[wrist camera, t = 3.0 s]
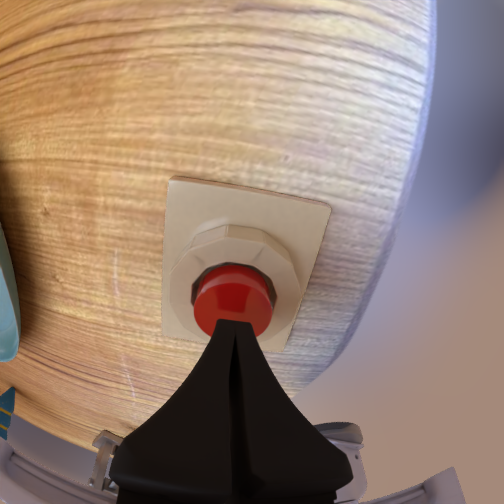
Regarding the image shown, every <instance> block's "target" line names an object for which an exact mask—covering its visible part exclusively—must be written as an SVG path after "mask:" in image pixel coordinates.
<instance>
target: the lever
mask: <svg viewBox="0 0 504 504" xmlns="http://www.w3.org/2000/svg"><path fill="white" fill-rule="evenodd" d="M118 447H119V446H118V445H115V446H114V448H113V451H112V454H113V455H115V453H116V451H117V449H118ZM101 491H102V492H105V493H108V494H111V495H114V496H118V491H119V486H118V485H116V484H115V483H114V482H113V481H112V480H111V479H108V478H105V479H104V480H103V485H102V489H101Z"/></svg>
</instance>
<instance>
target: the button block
mask: <svg viewBox="0 0 504 504" xmlns="http://www.w3.org/2000/svg"><path fill="white" fill-rule="evenodd" d="M330 213H331V207H330V206H329V205H328V204H326V203H322V202H318V201H313V200H309V199H304V198H300V197H295V196H290V195H285V194H280V193H275V192H270V191H265V190H259V189H254V188H248V187H243V186H237V185H231V184H225V183H219V182H212V181H206V180H199V179H192V178H185V177H178V176H173V177H171V178H170V179H169V180H168V189H167V200H166V211H165V224H164V239H163V259H162V301H161V314H162V336H167V337H172V338H177V339H183V340H188V341H194V342H200V343H207V344H208V343H209V341H210V339H211V337H210V336H208V335H207V334H206V333H204V332H203V331H202V330H201V329H200V327H199V326H198V325H197V323H196V321H195V318H194V313H193V309H194V303H195V299H196V295H197V291H198V287H199V284H200V282H201V280H202V279H203V278H204V276H205V275H206V274H208V273H209V272H210V271H212V270H214V269H216V268H218V267H221V266H225V265H240V266H245V267H248V268H250V269H252V270H254V271H256V272H257V273H258V274H260V275H261V276H262V277H263V278H264V280H265V281H266V283H267V285H268V287H269V291H270V299H271V306H272V319H271V322H270V324H269V326H268V327H267V329H266V330H265V331H264V332H263V333H262V334H261V335H259V336H258V337H256V338H257V341H258V343H259V346H260V348H261V350H262V351H271V352H283V350H284V347H285V345H286V342H287V339H288V337H289V334H290V332H291V329H292V326H293V324H294V321H295V318H296V316H297V313H298V310H299V307H300V305H301V302H302V299H303V296H304V293H305V291H306V288H307V285H308V282H309V279H310V276H311V273H312V270H313V267H314V264H315V261H316V258H317V255H318V252H319V249H320V246H321V242H322V239H323V236H324V233H325V229H326V226H327V223H328V220H329V216H330Z"/></svg>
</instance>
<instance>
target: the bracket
mask: <svg viewBox="0 0 504 504" xmlns="http://www.w3.org/2000/svg"><path fill="white" fill-rule="evenodd" d="M123 440H124V439H122V438H120V437H118V436H116V435H114V434H112V433H110V432H108V431H105V430H104V431H103V432H102V433H101V434H100V435H99V436H98V437H97V438H96V439H95V440H94V441H93V443H92V446H94V447H96V448H98V449H99V451H98V455H97V459H96V462H95V466H94V469H93V473H92V477H91V478H89V481H88V485H89V487H91V488H94V489H97V490H100V491H101V489H102V485H103V480H104V476H105V472H106V468H107V464H108V460H109V456H110V454H111V455H113V454H112V451H113V448H114V446H115V445H118V446H120V444H121V443H122V441H123Z"/></svg>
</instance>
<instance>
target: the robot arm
mask: <svg viewBox="0 0 504 504" xmlns="http://www.w3.org/2000/svg"><path fill="white" fill-rule="evenodd" d="M363 447H364V445H363V444H359V443H352V442H346V441H341V440H335V439H330V438H325V437H324V436H323V435H322V434H321V433H320V432H319V431H318V430H317V429H316V428H315V427H314V426H313V425H312V424H311V423H310V422H309V421H308V420H307V419H306V418H305V417H304V416H303V414H302V413H301V412H300V411H299V410H298V409H297V408H296V406H295V405H294V404H293V402H292V401H291V400H290V398H289V397H288V396H287V394H286V393H285V392H284V390H283V389H282V387H281V385H280V384H279V382H278V381H277V379H276V377H275V376H274V374H273V372H272V370H271V369H270V367H269V365H268V363H267V361H266V359H265V357H264V355H263V353H262V350H261V348H260V346H259V343H258V341H257V338H256V336H255V333H254V330H253V326H252V324H251V323H250V322H243V321H235V320H228V319H221V318H220V319H218V320H217V321H216V326H215V329H214V332H213V334H212V336H211V339H210V341H209V343H208V345H207V347H206V348H205V350H204V352H203V354H202V356H201V357H200V359H199V360H198V362H197V364H196V365H195V367H194V368H193V370H192V371H191V373H190V374H189V375H188V377H187V378H186V379H185V381H184V382H183V383H182V385H181V386H180V387H179V388H178V389H177V391H176V392H175V393H174V394H173V395H172V396H171V397H170V399H169V400H168V401H167V402H166V403H165V404H164V405H163V406H162V407H161V408H160V409H159V410H158V411H157V412H156V413H154V414H153V415H152V416H151V417H150V418H149V419H148V420H147V421H146V422H145V423H143V424H142V425H141V426H140V427H138V428H137V429H136V430H134V431H133V432H132V433H130V434H129V435H128V436H126V437H125V438H124V440H123V441H122V443H121V444H120V446H119V447H118V449H117V451H116V453H115V455H114V457H113V460H112V463H111V467H110V471H109V477H110V478H111V480H112V481H113V482H114V483H115V484H116V485H118V486H119V491H118V496H114V495H111V494H108V493H105V492H102V491H100V490H97V489H94V488H91V487H89V486H86V485H84V484H81V483H79V482H77V481H74V480H72V479H70V478H67V477H65V476H63V475H61V474H59V473H57V472H55V471H53V470H51V469H49V468H47V467H45V466H43V465H41V464H39V463H37V462H36V461H34V460H32V459H30V458H28V457H27V456H25V455H24V454H22V453H20V452H19V451H17V450H15V449H14V448H13V447H12V446H11V445H10V444H9V443H8V442H7V441H6V440H4V439H3V438H2V437H0V499H1V500H2V501H3V502H5V503H6V504H466V502H465V499H464V495H463V492H462V489H461V486H460V483H459V481H458V478H457V475H456V472H455V469H454V467H450V468H448V469H446V470H444V471H442V472H440V473H438V474H436V475H434V476H432V477H430V478H429V479H427V480H425V481H424V482H423V483H420V484H418V485H415V486H413V487H410V488H408V489H405V490H402V491H400V492H396V493H394V494H390V495H387V496H384V497H381V498H377V499H374V500H371V501H367V502H361V503H358V500H360V499H361V498H362V497H363V496H364V494H365V491H366V488H367V480H366V476H365V472H364V468H363V464H362V460H361V456H360V452H359V449H361V448H363Z"/></svg>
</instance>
